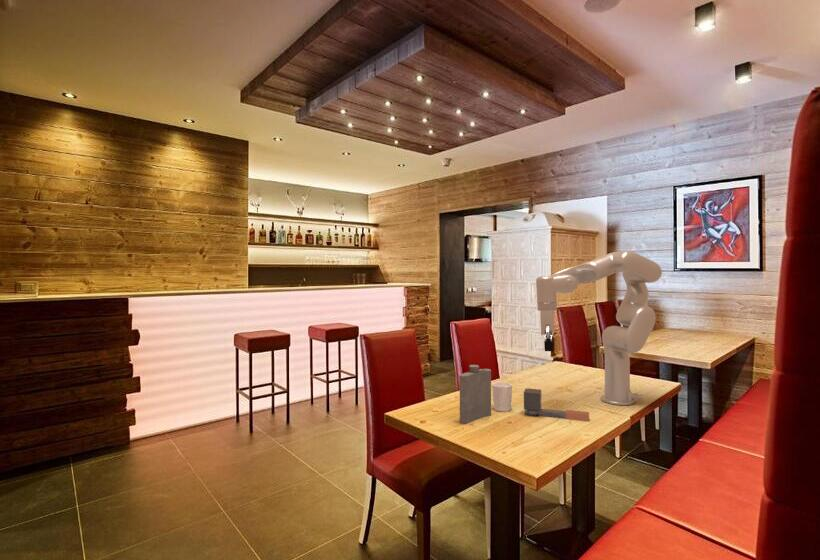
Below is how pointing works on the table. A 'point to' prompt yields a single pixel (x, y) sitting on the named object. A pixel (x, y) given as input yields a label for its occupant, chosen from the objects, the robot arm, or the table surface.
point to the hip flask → (475, 394)
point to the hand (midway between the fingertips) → (549, 348)
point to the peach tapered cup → (502, 396)
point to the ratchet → (560, 414)
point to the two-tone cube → (532, 399)
